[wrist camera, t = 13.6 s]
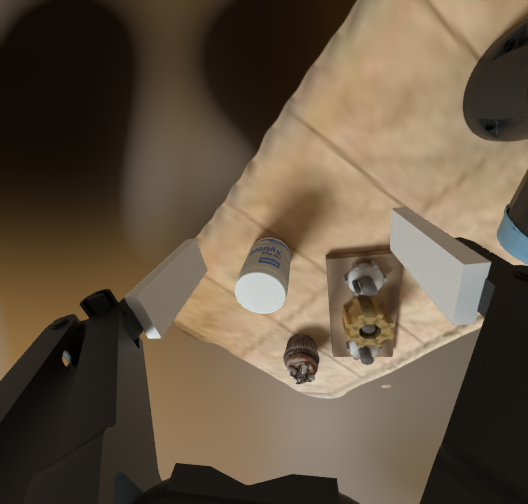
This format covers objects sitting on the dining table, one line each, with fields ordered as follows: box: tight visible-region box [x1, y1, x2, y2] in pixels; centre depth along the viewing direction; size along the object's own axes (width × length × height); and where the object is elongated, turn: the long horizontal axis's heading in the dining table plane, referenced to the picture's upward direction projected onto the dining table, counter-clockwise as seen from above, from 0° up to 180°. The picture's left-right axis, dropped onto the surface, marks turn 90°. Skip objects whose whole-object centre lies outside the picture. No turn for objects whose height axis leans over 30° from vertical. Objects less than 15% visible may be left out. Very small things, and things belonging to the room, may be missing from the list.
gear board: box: [326, 249, 402, 365], centre depth 52 cm, size 15×31×7 cm, turn 10°
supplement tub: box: [235, 237, 291, 314], centre depth 45 cm, size 10×10×15 cm
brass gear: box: [341, 296, 396, 348], centre depth 50 cm, size 10×10×6 cm
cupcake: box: [283, 335, 320, 384], centre depth 59 cm, size 10×10×10 cm
